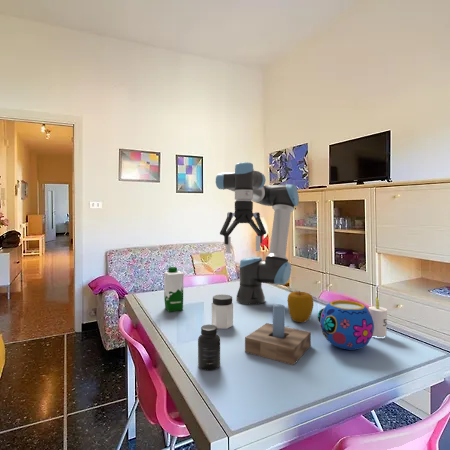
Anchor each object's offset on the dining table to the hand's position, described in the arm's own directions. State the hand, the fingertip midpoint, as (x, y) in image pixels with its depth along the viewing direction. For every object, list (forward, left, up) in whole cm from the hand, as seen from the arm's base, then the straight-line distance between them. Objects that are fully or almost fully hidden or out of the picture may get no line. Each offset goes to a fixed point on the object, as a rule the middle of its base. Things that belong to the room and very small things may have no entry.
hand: (243, 252), depth 133 cm
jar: (+5, -7, -31) cm, 32 cm away
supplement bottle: (+37, +9, -31) cm, 49 cm away
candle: (-18, +49, -31) cm, 61 cm away
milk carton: (-1, -39, -31) cm, 50 cm away
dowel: (+14, +22, -31) cm, 40 cm away
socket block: (+14, +22, -31) cm, 40 cm away
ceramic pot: (-1, +41, -31) cm, 51 cm away
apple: (-19, +18, -31) cm, 41 cm away
